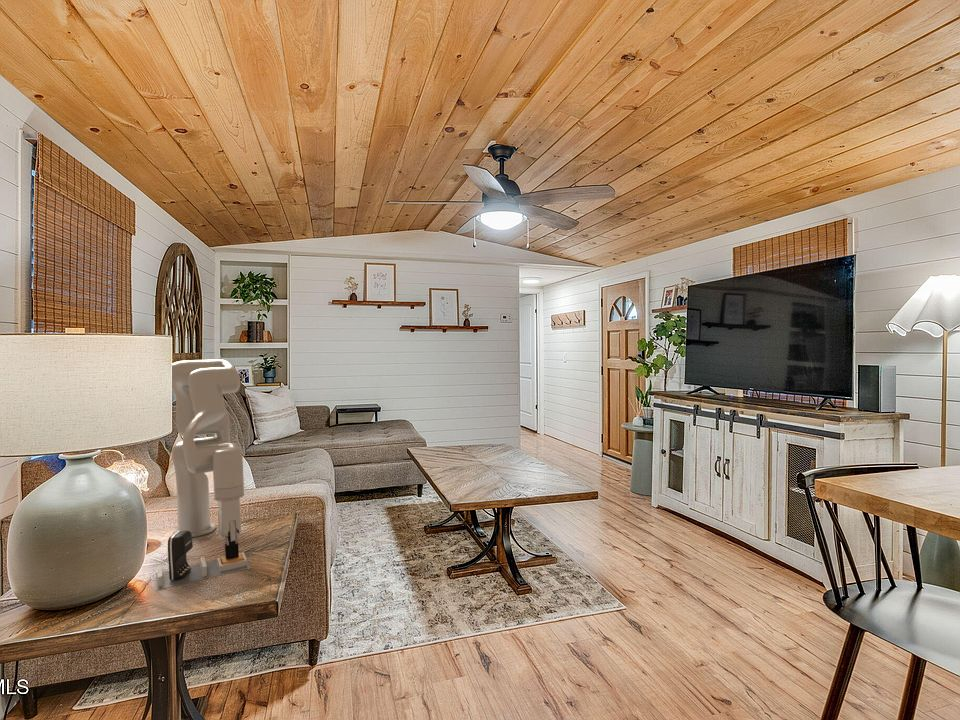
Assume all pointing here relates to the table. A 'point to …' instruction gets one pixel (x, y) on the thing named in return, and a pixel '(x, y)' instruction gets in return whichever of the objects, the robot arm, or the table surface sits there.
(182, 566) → the battery charger
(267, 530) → the table surface
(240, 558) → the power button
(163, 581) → the charging dock
